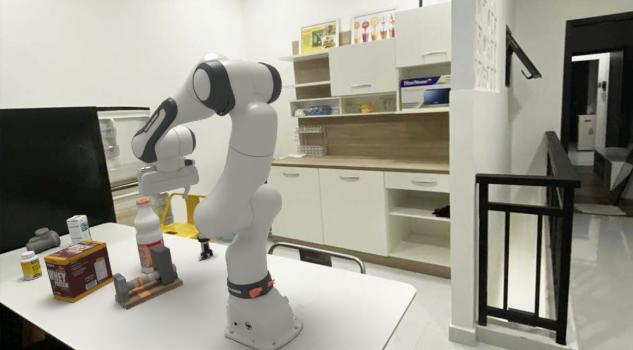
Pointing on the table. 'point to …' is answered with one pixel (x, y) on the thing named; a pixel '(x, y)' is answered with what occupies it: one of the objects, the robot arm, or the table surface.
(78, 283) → the supplement box
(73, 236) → the syrup box
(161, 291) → the pipe rig
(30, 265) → the supplement bottle
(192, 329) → the table surface
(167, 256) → the dark grey upright block
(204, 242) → the push button
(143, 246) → the fruit juice
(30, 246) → the pipe fitting
